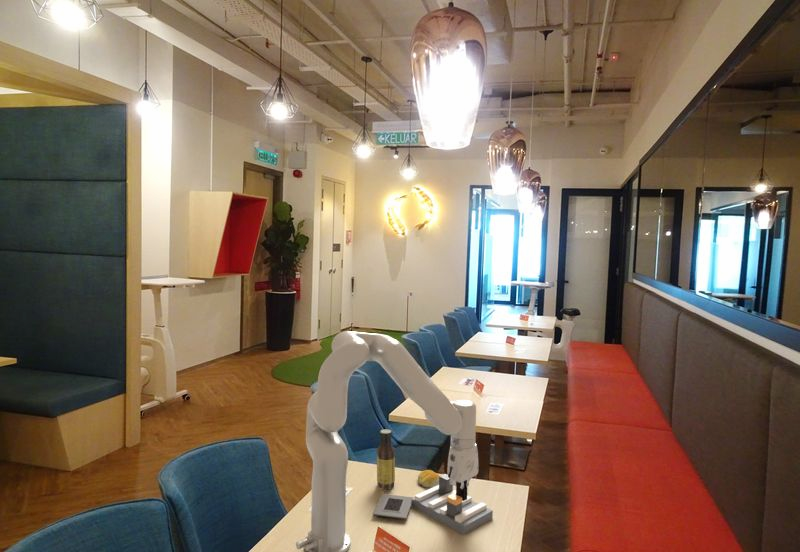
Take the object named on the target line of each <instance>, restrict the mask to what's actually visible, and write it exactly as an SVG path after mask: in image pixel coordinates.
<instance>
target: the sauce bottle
mask: <svg viewBox="0 0 800 552" xmlns="http://www.w3.org/2000/svg"><path fill="white" fill-rule="evenodd" d="M379 436H380V442H379V443H380V444H379V446H378V447H377V451H376V480H377V481H376V482H377V483H376V485H377V487H378V488H379V489H381V490H391V489H393V488H394V487H395V480H396V473H395V470H396V469H395V468H396V466H395V464H396V458H395V457H396V456H395V448H394V446H393V445H392V430H391V429H380V432H379Z"/></svg>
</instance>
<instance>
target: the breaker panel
mask: <svg viewBox="0 0 800 552" xmlns="http://www.w3.org/2000/svg"><path fill="white" fill-rule="evenodd" d="M452 494H456V489H453V491H452V492H450V493H448V494H445V495H443V494H441V493H439V485H437V486H435V487H433V488H428V489H427V490H424V491H422V492H420V493H417V494H415V495H414V498H412V504H411V507H412V508H414V509H416V510H417V511H419V512H421V513H423V514H425V515H427V516H428V517H430V518H432V519H435V520H436V521H438V522H439V523H442V524H444V526H445V525H446V526H447V527H449V528H450V529H452V530H454V531H456V532H458V533H460V534H462V536H463V535H465V534H467V533H469V532H471V531H473V530H474V529H476V528H478V527H480V526H481V525H484V524H485V523H486V522H488V521H491V519H493V513H494V510H493V509H490V508H488V506H487V505H488V504H486V503H485V502H482V501H481V502H480V503H478V502H476V501H474V500H472V499H473V498H472V496H469V495H468V494H467V500H465V501H462V513H460V514H458V515H457V516H455V518H454V517H452V516H450V515H448V514H447V496H449V495H452Z"/></svg>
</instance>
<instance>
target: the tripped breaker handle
mask: <svg viewBox="0 0 800 552" xmlns="http://www.w3.org/2000/svg"><path fill="white" fill-rule="evenodd" d="M460 513H462V497H460V496H458V495H456V494H452V495H449V496H447V514H448V515H450V516H452V517H454V518H455V516H457V515H458V514H460Z"/></svg>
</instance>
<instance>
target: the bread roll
mask: <svg viewBox="0 0 800 552" xmlns="http://www.w3.org/2000/svg"><path fill="white" fill-rule="evenodd" d="M439 476H441V475H440V474H439V473H436V472H435V471H433V470H432V469H425V470H422V471H420V472H419V474H418V475H417V482H418V484H419V485H422V487H425V488H428V489H431V488H433V487H435V486H437V485H439Z"/></svg>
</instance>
